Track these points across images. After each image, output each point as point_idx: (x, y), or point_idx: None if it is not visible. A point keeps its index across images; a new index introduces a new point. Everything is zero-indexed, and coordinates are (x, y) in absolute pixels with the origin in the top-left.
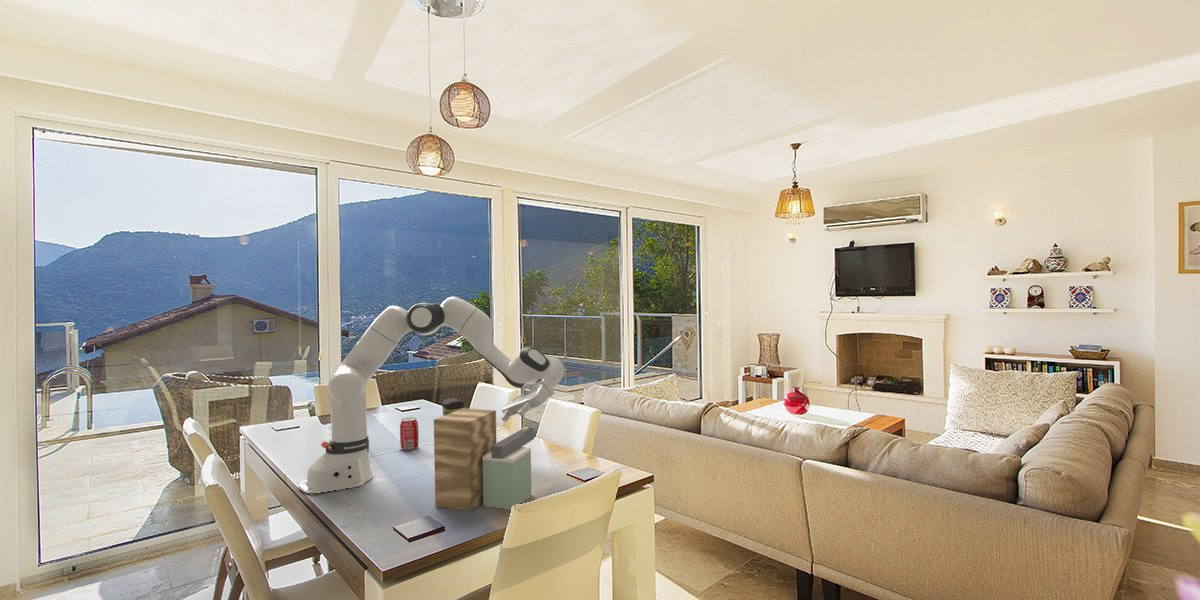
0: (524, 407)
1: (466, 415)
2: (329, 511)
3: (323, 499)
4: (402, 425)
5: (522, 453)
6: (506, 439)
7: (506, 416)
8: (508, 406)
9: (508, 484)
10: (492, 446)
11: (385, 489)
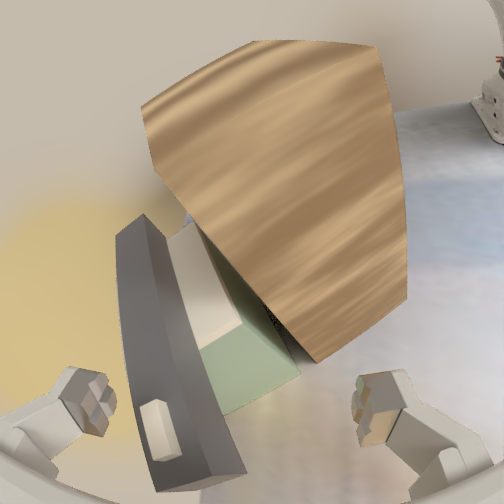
0: (38, 402)
1: (212, 79)
2: (400, 114)
3: (451, 110)
4: None
5: (120, 325)
6: (141, 274)
7: (365, 411)
8: (482, 492)
9: None
10: (140, 216)
11: (469, 164)
